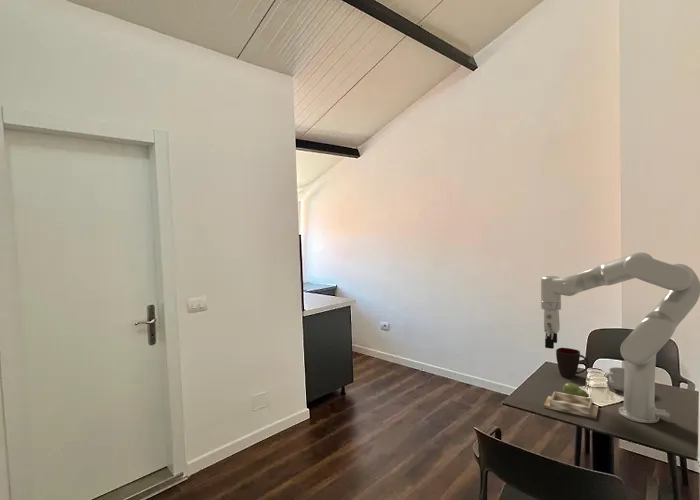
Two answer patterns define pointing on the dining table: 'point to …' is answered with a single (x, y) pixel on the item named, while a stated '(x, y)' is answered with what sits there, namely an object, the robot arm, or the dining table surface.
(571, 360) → the mug
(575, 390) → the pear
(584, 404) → the open rectangular box
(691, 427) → the dining table surface
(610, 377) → the teacup
